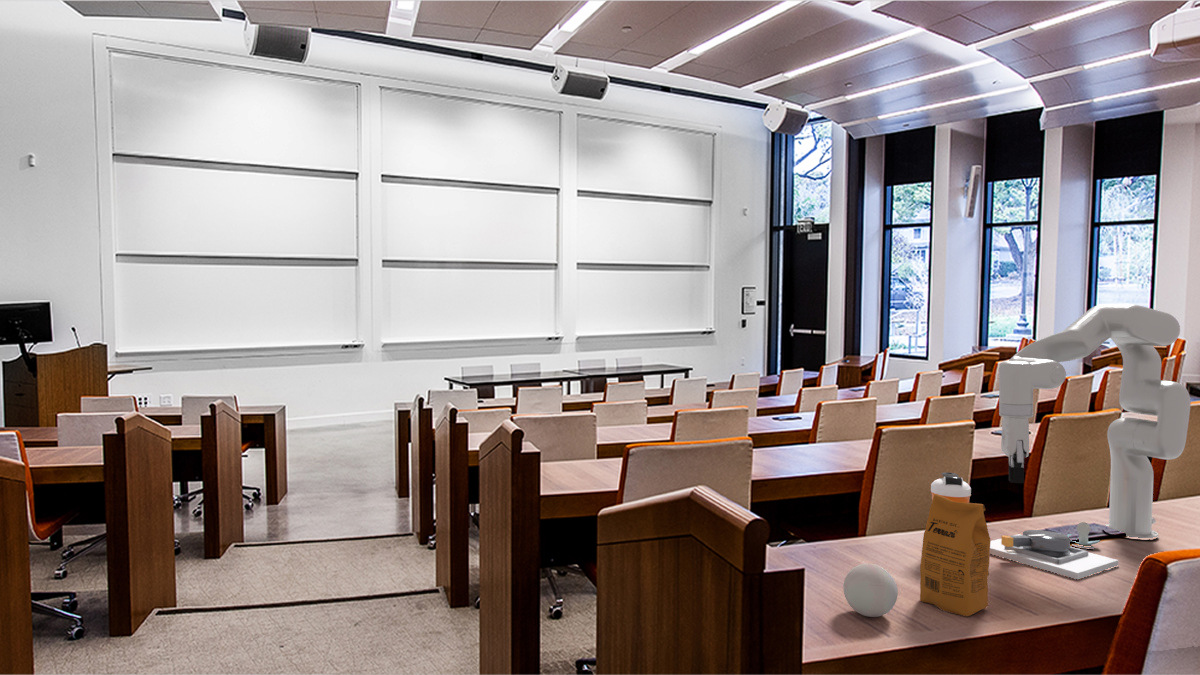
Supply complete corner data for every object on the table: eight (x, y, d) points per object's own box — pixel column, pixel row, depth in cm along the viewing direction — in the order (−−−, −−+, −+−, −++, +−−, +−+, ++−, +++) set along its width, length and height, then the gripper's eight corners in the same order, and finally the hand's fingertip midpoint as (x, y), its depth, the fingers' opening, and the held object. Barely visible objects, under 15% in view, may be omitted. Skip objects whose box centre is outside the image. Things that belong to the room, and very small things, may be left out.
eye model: (835, 605, 155) (836, 557, 155) (883, 604, 156) (884, 556, 155) (854, 626, 145) (855, 574, 145) (906, 625, 146) (907, 573, 145)
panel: (1018, 540, 201) (1018, 530, 201) (1118, 566, 180) (1118, 555, 180) (977, 550, 192) (977, 540, 191) (1077, 580, 171) (1078, 568, 171)
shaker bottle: (961, 550, 191) (963, 471, 191) (975, 562, 182) (977, 479, 182) (924, 549, 192) (926, 470, 191) (936, 561, 183) (938, 478, 183)
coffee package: (941, 591, 164) (943, 489, 163) (996, 611, 153) (999, 502, 152) (910, 599, 159) (912, 494, 158) (965, 620, 148) (968, 508, 147)
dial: (1050, 545, 191) (1050, 528, 191) (1080, 557, 182) (1080, 540, 181) (990, 547, 189) (991, 530, 189) (1017, 560, 179) (1018, 542, 179)
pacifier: (1092, 553, 191) (1102, 548, 195) (1093, 528, 191) (1102, 524, 195) (1060, 546, 197) (1070, 541, 201) (1061, 522, 197) (1071, 517, 200)
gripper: (994, 405, 200) (995, 475, 201) (1004, 414, 186) (1004, 488, 187) (1026, 406, 198) (1027, 476, 198) (1039, 415, 183) (1039, 490, 184)
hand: (1016, 482), depth 193 cm, fingers closed
